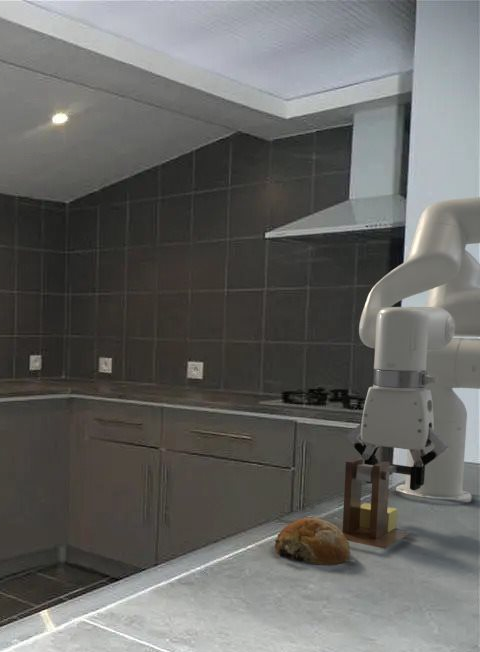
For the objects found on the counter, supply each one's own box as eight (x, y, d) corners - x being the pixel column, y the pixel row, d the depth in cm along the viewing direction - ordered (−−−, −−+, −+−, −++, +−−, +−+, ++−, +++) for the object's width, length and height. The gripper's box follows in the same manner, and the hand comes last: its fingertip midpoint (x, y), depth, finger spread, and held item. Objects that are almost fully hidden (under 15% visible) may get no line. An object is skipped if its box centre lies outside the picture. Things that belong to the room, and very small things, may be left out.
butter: (364, 521, 121) (365, 502, 121) (396, 527, 118) (397, 508, 117) (354, 525, 119) (355, 507, 119) (388, 532, 115) (389, 513, 115)
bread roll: (349, 596, 101) (377, 546, 100) (284, 565, 101) (311, 515, 100) (317, 571, 111) (341, 526, 110) (258, 543, 111) (282, 498, 110)
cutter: (345, 526, 123) (349, 452, 122) (411, 539, 115) (415, 461, 114) (316, 540, 115) (319, 462, 114) (384, 556, 107) (388, 472, 106)
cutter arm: (376, 472, 125) (377, 458, 125) (415, 478, 121) (416, 464, 121) (343, 477, 115) (344, 463, 115) (384, 484, 111) (385, 468, 111)
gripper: (465, 383, 117) (458, 491, 118) (353, 376, 130) (348, 474, 131) (451, 385, 112) (444, 498, 113) (336, 378, 125) (331, 480, 126)
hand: (392, 484), depth 122 cm, fingers closed on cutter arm, 6 cm apart
